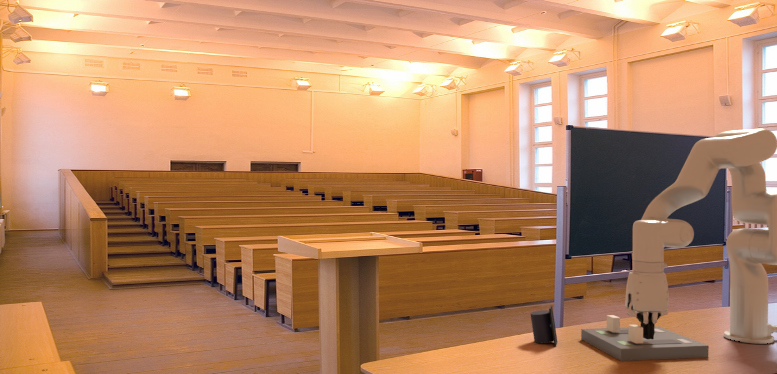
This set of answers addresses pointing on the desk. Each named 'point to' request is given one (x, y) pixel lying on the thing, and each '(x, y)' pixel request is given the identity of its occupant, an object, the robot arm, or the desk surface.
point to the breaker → (613, 323)
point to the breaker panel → (644, 345)
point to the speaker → (544, 326)
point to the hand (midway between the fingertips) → (647, 337)
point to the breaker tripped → (635, 334)
